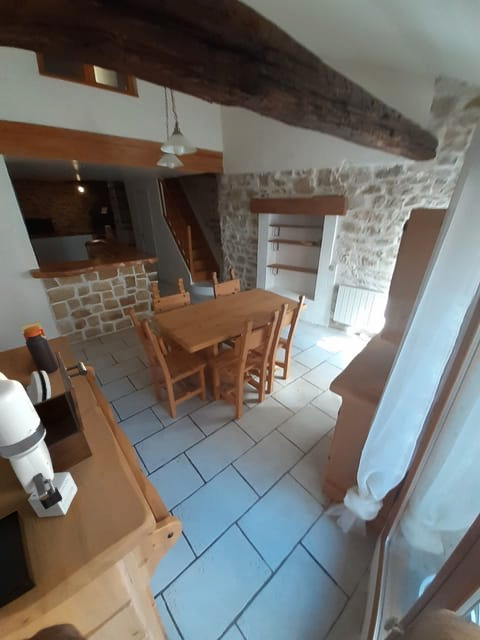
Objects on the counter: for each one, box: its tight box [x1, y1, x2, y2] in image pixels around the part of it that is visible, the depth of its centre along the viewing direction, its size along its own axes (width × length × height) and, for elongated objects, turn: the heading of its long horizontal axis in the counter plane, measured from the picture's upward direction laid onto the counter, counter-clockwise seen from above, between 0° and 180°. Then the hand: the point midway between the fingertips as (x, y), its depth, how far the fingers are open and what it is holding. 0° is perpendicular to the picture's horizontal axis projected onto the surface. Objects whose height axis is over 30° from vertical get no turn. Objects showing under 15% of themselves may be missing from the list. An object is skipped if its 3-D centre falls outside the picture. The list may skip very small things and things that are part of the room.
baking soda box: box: [20, 320, 47, 342], centre depth 112 cm, size 10×6×16 cm
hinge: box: [26, 371, 52, 405], centre depth 91 cm, size 17×5×10 cm, turn 43°
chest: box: [33, 391, 93, 473], centre depth 73 cm, size 14×21×10 cm, turn 42°
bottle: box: [24, 326, 59, 375], centre depth 102 cm, size 7×7×20 cm
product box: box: [27, 471, 78, 518], centre depth 60 cm, size 6×6×7 cm
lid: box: [54, 350, 88, 431], centre depth 73 cm, size 15×21×5 cm
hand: (50, 486), depth 58 cm, fingers open, 9 cm apart
